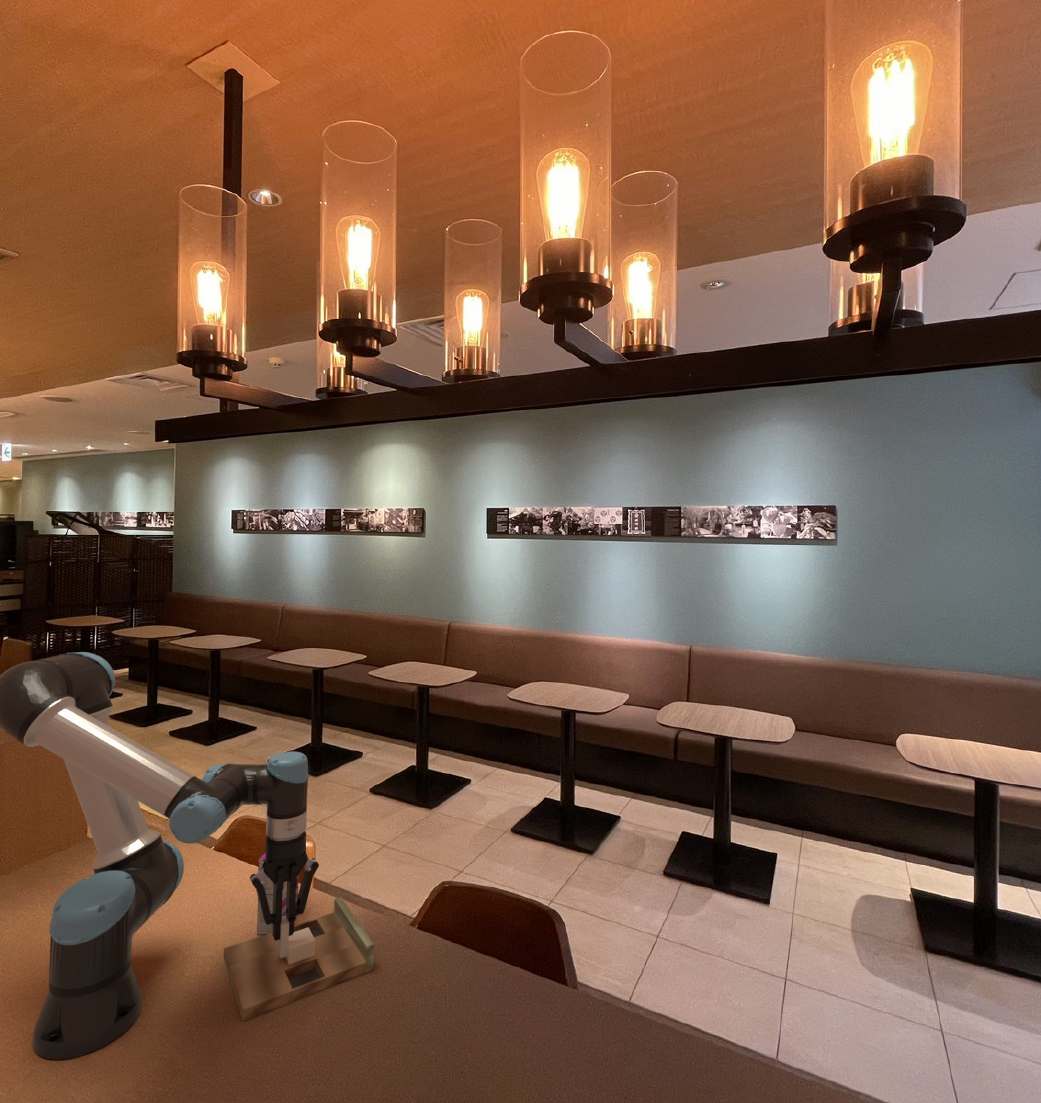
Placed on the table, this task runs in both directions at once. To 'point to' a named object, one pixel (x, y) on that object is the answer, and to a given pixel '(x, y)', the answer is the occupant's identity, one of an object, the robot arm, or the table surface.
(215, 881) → the table surface
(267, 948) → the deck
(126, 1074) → the table surface
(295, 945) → the block
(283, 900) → the candy bar box
